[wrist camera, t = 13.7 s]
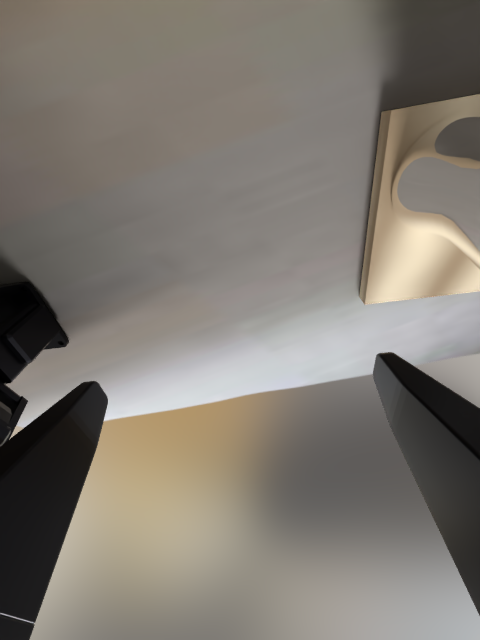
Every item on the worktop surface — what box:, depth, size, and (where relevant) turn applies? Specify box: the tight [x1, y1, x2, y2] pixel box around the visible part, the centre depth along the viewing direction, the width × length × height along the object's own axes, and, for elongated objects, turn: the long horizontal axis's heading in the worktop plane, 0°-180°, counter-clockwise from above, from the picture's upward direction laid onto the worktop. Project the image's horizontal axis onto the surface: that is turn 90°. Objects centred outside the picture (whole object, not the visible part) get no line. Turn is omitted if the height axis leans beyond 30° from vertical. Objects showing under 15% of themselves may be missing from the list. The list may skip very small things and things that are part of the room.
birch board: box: [359, 94, 480, 304], centre depth 17 cm, size 12×12×1 cm
